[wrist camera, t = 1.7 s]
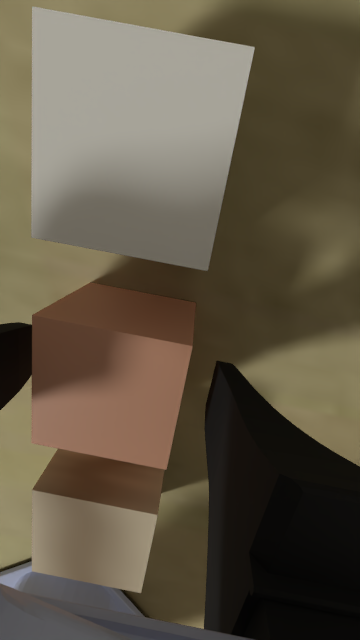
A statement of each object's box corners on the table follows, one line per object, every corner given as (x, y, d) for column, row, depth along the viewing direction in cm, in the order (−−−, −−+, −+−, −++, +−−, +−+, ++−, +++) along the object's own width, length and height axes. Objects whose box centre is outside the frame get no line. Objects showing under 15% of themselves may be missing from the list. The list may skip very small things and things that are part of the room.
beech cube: (170, 427, 15) (157, 515, 11) (157, 493, 17) (141, 593, 12) (82, 410, 15) (32, 489, 11) (77, 477, 17) (31, 571, 12)
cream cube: (232, 120, 11) (255, 47, 6) (205, 252, 12) (207, 271, 8) (104, 97, 11) (32, 6, 6) (94, 231, 12) (31, 237, 8)
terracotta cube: (196, 302, 13) (192, 346, 8) (177, 392, 15) (166, 469, 10) (91, 282, 13) (31, 314, 8) (84, 374, 15) (31, 443, 10)
